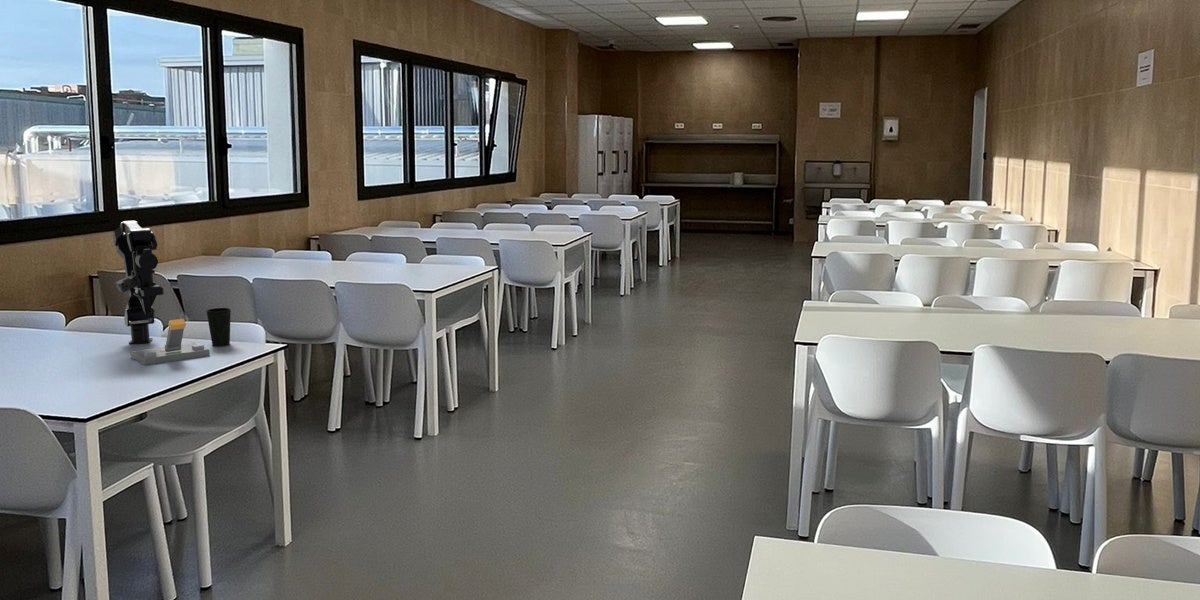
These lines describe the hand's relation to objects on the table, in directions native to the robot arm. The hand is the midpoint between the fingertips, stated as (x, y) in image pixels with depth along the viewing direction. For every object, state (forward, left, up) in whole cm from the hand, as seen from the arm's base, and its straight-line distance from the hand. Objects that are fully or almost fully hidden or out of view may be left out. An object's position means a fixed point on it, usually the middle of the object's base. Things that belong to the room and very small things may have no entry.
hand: (146, 314), depth 341 cm
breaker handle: (+14, +10, -9) cm, 20 cm away
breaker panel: (+12, +9, -12) cm, 19 cm away
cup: (-3, +22, -12) cm, 25 cm away
